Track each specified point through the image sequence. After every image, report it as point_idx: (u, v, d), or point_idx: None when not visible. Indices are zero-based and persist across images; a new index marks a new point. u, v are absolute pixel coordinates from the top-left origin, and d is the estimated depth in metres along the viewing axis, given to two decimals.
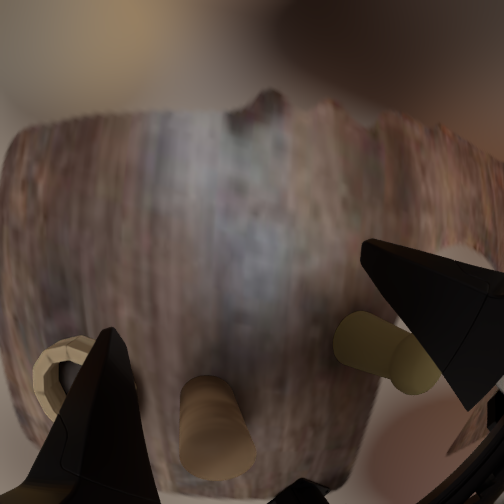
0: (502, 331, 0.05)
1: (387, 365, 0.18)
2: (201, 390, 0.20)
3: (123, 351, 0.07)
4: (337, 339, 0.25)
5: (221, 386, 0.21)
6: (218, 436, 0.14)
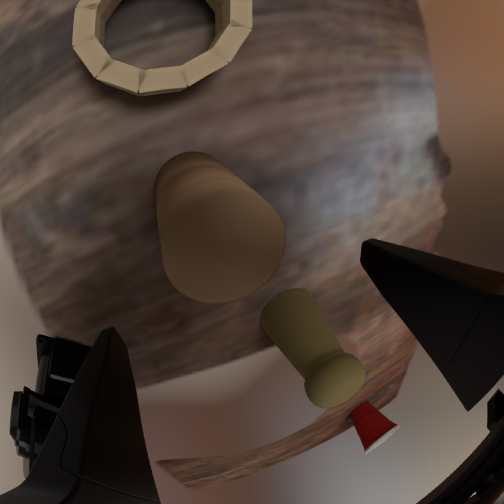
0: (502, 331, 0.05)
1: (323, 356, 0.20)
2: None
3: (123, 351, 0.07)
4: (291, 294, 0.25)
5: None
6: (271, 236, 0.11)
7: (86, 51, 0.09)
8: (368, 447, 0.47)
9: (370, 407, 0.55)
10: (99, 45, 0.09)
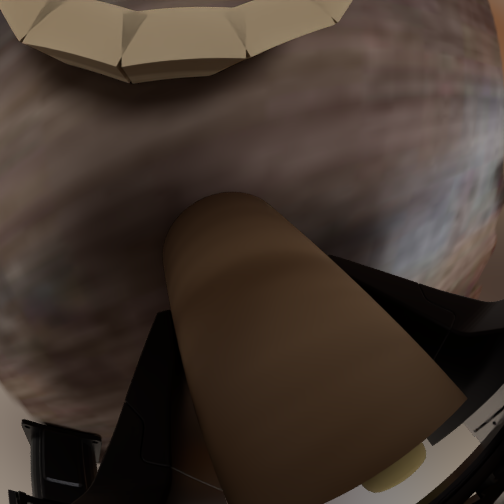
0: (467, 372, 0.04)
1: None
2: None
3: None
4: None
5: None
6: None
7: None
8: None
9: None
10: None
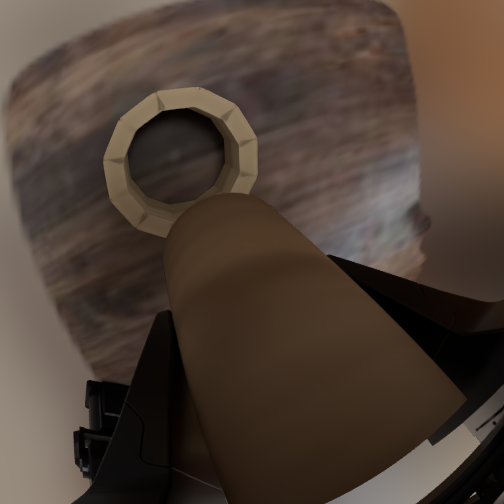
0: (467, 372, 0.04)
1: None
2: None
3: None
4: None
5: None
6: None
7: (123, 205, 0.15)
8: None
9: None
10: (134, 201, 0.15)
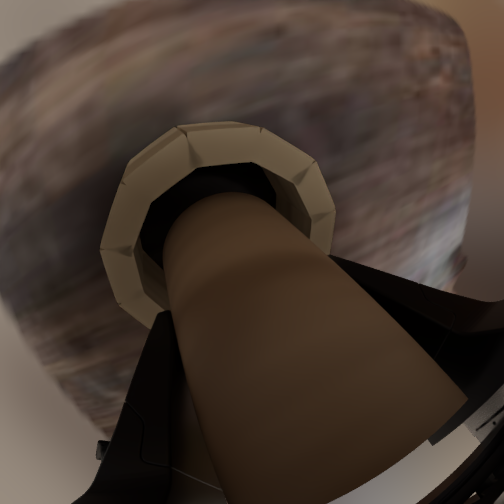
0: (467, 372, 0.04)
1: None
2: None
3: None
4: None
5: None
6: None
7: (139, 310, 0.10)
8: None
9: None
10: (155, 304, 0.10)
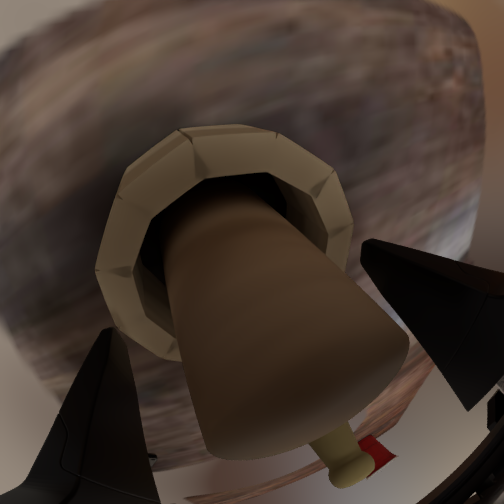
0: (502, 331, 0.05)
1: (344, 457, 0.21)
2: None
3: (123, 351, 0.07)
4: None
5: None
6: (387, 371, 0.05)
7: (140, 334, 0.09)
8: (369, 475, 0.47)
9: (373, 440, 0.56)
10: (157, 328, 0.09)
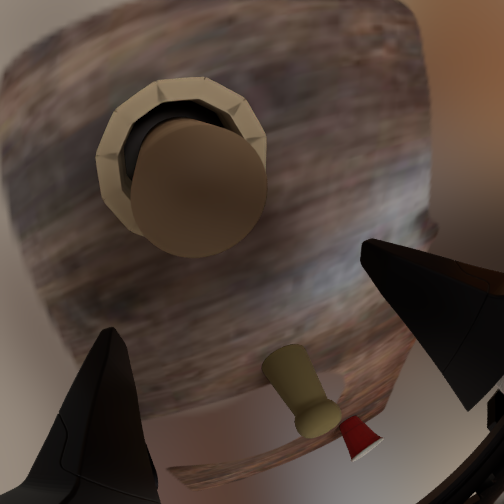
0: (502, 331, 0.05)
1: (309, 402, 0.25)
2: None
3: (123, 351, 0.07)
4: (287, 350, 0.31)
5: None
6: (252, 181, 0.10)
7: (117, 206, 0.14)
8: (354, 457, 0.52)
9: (357, 421, 0.60)
10: (128, 201, 0.14)
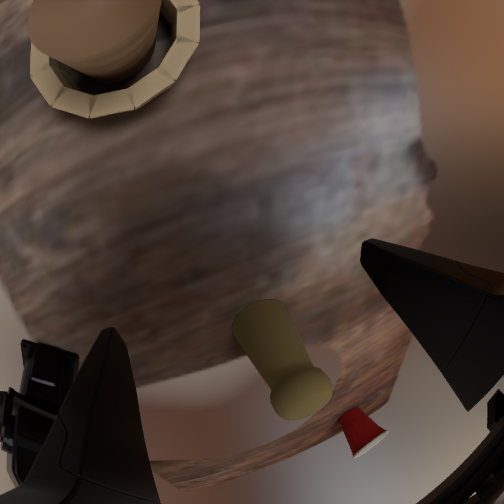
0: (502, 331, 0.05)
1: (288, 369, 0.20)
2: None
3: (123, 351, 0.07)
4: (261, 305, 0.25)
5: (154, 42, 0.11)
6: None
7: (42, 80, 0.09)
8: (356, 453, 0.46)
9: (359, 412, 0.55)
10: (53, 74, 0.09)
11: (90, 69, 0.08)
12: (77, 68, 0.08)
